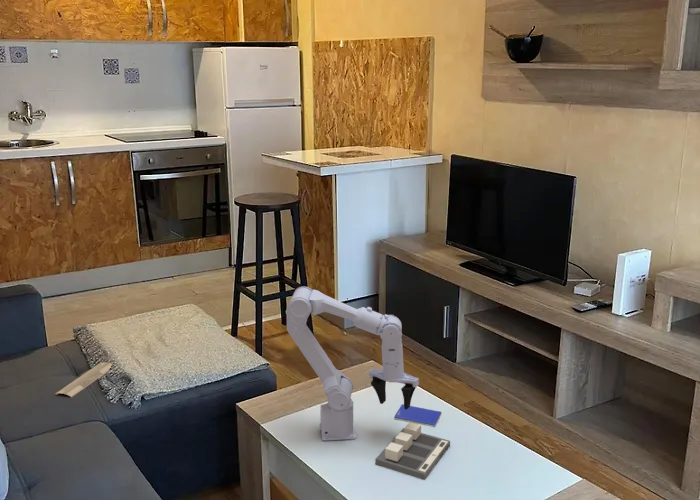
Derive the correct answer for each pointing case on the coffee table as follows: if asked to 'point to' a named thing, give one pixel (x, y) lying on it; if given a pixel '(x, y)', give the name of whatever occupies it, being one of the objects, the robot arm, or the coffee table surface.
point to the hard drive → (418, 415)
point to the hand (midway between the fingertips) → (395, 405)
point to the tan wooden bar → (85, 379)
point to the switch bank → (417, 456)
